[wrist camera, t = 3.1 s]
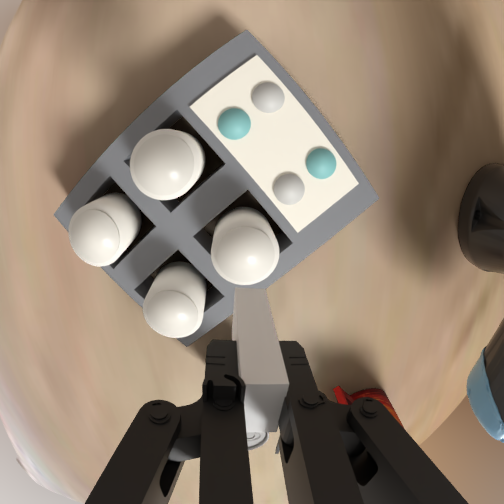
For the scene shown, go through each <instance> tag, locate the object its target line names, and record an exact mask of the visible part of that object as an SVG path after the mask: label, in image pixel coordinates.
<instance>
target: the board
mask: <svg viewBox="0 0 504 504" xmlns="http://www.w3.org/2000/svg"><path fill="white" fill-rule="evenodd" d="M182 116H183V117H184V118H185V119H186V120H187V121H188V122H189V123H190V124H191V126H192V127H193V128H194V129H195V130H196V131H197V132H198V133H199V134H200V136H201V137H202V138H203V139H204V140H205V141H206V142H207V143H208V144H209V146H210V147H211V148H212V149H213V150H214V151H215V152H216V153H217V155H218V156H219V157H220V158H221V159H222V160H223V161H224V164H222V165H221V166H220V167H219V168H218V169H217V170H215V171H214V172H213V173H212V174H211V175H210V176H208V177H207V178H206V179H205V180H204V181H203V182H202V183H200V184H199V185H198V186H197V187H196V188H195V189H194V190H193V191H191V192H190V193H189V194H188V195H187V196H186V197H185V198H184V199H183V200H181V201H180V202H178V201H177V199H176V198H175V199H171V200H157V199H153V198H151V197H149V196H147V195H145V194H144V193H142V192H141V191H140V190H139V189H138V187H137V186H136V185H135V183H134V181H133V179H132V176H131V172H130V159H131V155H132V152H133V150H134V148H135V146H136V144H137V143H138V142H139V141H140V140H141V139H142V138H143V137H144V136H145V135H147V134H148V133H150V132H152V131H155V130H159V129H169V128H170V127H171V126H172V125H173V124H175V123H176V122H177V121H178V120H179V119H180V118H181V117H182ZM115 182H116V183H117V184H118V185H119V186H120V187H121V189H122V190H123V191H124V192H125V193H126V194H127V195H128V196H129V197H130V199H131V200H132V201H133V202H134V203H135V204H136V205H137V206H138V207H139V208H140V209H141V211H142V212H143V213H144V214H145V215H146V216H147V217H148V218H149V219H150V220H151V221H152V222H153V223H154V225H155V226H154V227H153V228H152V229H151V230H150V231H149V232H148V233H147V234H145V235H144V236H143V237H142V238H141V239H140V240H139V241H138V242H137V243H136V244H135V245H134V246H133V247H132V248H131V249H130V250H129V251H128V252H127V251H126V250H125V251H124V252H123V253H122V254H121V255H120V257H119V258H118V259H117V260H116V261H115V262H113V263H112V264H110V265H107V266H100V267H101V268H102V269H103V270H104V271H105V272H106V273H107V274H108V275H109V276H110V277H111V278H112V279H113V280H114V281H115V282H116V283H117V284H118V285H119V286H120V287H121V288H122V289H123V290H124V291H125V292H126V293H127V294H128V295H129V296H130V297H131V298H132V299H133V300H134V301H135V302H137V303H138V304H139V305H140V306H141V307H142V308H143V303H144V300H145V298H146V296H147V294H148V291H149V289H150V287H151V285H152V283H153V281H154V279H153V278H152V277H151V276H150V274H152V273H153V272H154V271H155V270H156V269H157V268H158V267H159V266H160V265H161V264H163V263H164V262H165V261H166V260H167V259H168V258H169V257H170V256H171V255H173V254H174V253H175V252H176V251H177V250H179V251H180V252H181V253H182V254H183V255H184V256H185V257H186V258H187V259H188V260H189V261H190V262H191V263H192V264H193V265H194V266H195V267H196V268H197V269H198V270H199V271H200V272H201V273H202V274H203V275H204V276H205V277H206V278H207V279H208V280H209V281H210V282H211V283H212V284H213V285H214V286H212V287H211V288H210V289H209V290H207V291H206V298H205V305H204V313H203V320H202V323H201V325H200V327H199V328H198V329H197V330H196V331H195V332H194V333H192V334H191V335H189V336H186V337H182V338H177V339H178V340H179V341H180V342H181V343H182V344H184V345H185V346H186V347H187V346H189V345H190V344H192V343H193V342H194V341H196V340H197V339H199V338H200V337H201V336H203V335H204V334H206V333H207V332H208V331H210V330H211V329H212V328H214V327H215V326H217V325H218V324H219V323H221V322H222V321H223V320H225V319H226V318H227V317H229V316H230V315H232V314H233V310H234V297H235V287H236V288H256V289H266V288H267V287H269V286H270V285H271V284H273V283H274V282H275V281H277V280H278V279H279V278H281V277H282V276H283V275H284V274H286V273H287V272H288V271H290V270H291V269H292V268H293V267H295V266H296V265H297V264H299V263H300V262H301V261H302V260H304V259H305V258H306V257H308V256H309V255H310V254H311V253H313V252H314V251H315V250H316V249H318V248H319V247H320V246H321V245H323V244H324V243H325V242H326V241H328V240H329V239H330V238H331V237H333V236H334V235H335V234H336V233H338V232H339V231H340V230H341V229H343V228H344V227H345V226H346V225H348V224H349V223H350V222H351V221H353V220H354V219H355V218H356V217H357V216H359V215H360V214H361V213H362V212H363V211H365V210H366V209H367V208H368V207H370V206H371V205H372V204H373V203H374V202H376V201H377V200H378V199H379V197H378V195H377V194H376V192H375V190H374V189H373V187H372V186H371V184H370V182H369V181H368V179H367V178H366V176H365V175H364V173H363V172H362V170H361V169H360V167H359V166H358V164H357V163H356V161H355V160H354V158H353V157H352V155H351V154H350V152H349V151H348V150H347V148H346V147H345V145H344V144H343V143H342V141H341V140H340V138H339V137H338V136H337V134H336V133H335V131H334V130H333V129H332V127H331V126H330V125H329V123H328V122H327V121H326V119H325V118H324V117H323V116H322V114H321V113H320V112H319V110H318V109H317V108H316V107H315V105H314V104H313V103H312V102H311V100H310V99H309V98H308V97H307V95H306V94H305V93H304V92H303V91H302V89H301V88H300V87H299V86H298V85H297V83H296V82H295V81H294V80H293V79H292V78H291V76H290V75H289V74H288V73H287V72H286V71H285V70H284V68H283V67H282V66H281V65H280V64H279V63H278V62H277V61H276V60H275V58H274V57H273V56H272V55H271V54H270V53H269V52H268V51H267V50H266V49H265V48H264V47H263V46H262V45H261V44H260V42H259V41H258V40H257V39H256V38H255V37H254V36H253V35H252V34H251V33H250V32H249V31H248V30H245V31H244V32H242V33H241V34H239V35H238V36H236V37H235V38H233V39H232V40H230V41H229V42H228V43H226V44H225V45H223V46H222V47H221V48H219V49H218V50H216V51H215V52H214V53H212V54H211V55H210V56H208V57H207V58H206V59H204V60H203V61H202V62H200V63H199V64H198V65H197V66H195V67H194V68H193V69H192V70H190V71H189V72H188V73H187V74H185V75H184V76H183V77H182V78H181V79H179V80H178V81H177V82H176V83H175V84H173V85H172V86H171V87H170V88H169V89H168V90H167V91H165V92H164V93H163V94H162V95H161V96H160V97H159V98H158V99H156V100H155V101H154V102H153V103H152V104H151V105H150V106H149V107H148V108H147V109H146V110H145V111H144V112H143V113H141V114H140V115H139V116H138V117H137V118H136V119H135V120H134V121H133V122H132V123H131V124H130V125H129V126H128V127H127V128H126V129H125V130H124V131H123V132H122V133H121V134H120V136H119V137H118V138H117V139H116V140H115V141H114V142H113V143H112V144H111V145H110V146H109V147H108V148H107V149H106V151H105V152H104V153H103V154H102V155H101V156H100V157H99V158H98V160H97V161H96V162H95V163H94V164H93V165H92V166H91V168H90V169H89V170H88V171H87V172H86V174H85V175H84V176H83V177H82V178H81V180H80V181H79V182H78V183H77V185H76V186H75V187H74V188H73V190H72V191H71V192H70V193H69V195H68V196H67V197H66V199H65V200H64V201H63V203H62V204H61V205H60V207H59V208H58V209H57V211H56V212H55V214H54V216H55V217H56V218H57V219H58V221H59V222H60V223H61V224H62V225H63V226H64V228H65V229H66V230H67V231H68V232H69V224H70V221H71V218H72V216H73V215H74V213H75V212H76V211H77V210H78V209H79V208H81V207H83V206H84V205H86V204H88V203H90V202H92V201H94V200H96V199H98V198H100V197H102V196H103V195H104V194H105V193H106V192H107V191H108V189H109V188H110V187H111V186H112V185H113V184H114V183H115ZM247 190H249V191H250V193H251V194H252V195H253V196H254V197H255V198H256V200H257V201H258V202H259V203H260V204H261V205H262V207H263V208H264V209H265V210H266V211H267V213H268V214H269V215H270V216H271V217H272V218H273V220H274V221H275V222H276V223H277V224H278V226H279V227H280V228H281V229H282V231H281V232H280V233H279V234H277V235H276V236H275V237H276V239H277V242H278V245H279V260H278V263H277V265H276V267H275V269H274V271H273V272H272V273H271V274H270V275H269V276H268V277H267V278H265V279H264V280H262V281H260V282H258V283H255V284H251V285H238V284H234V283H231V282H229V281H227V280H225V279H224V278H223V277H221V276H220V275H219V274H218V272H217V271H216V269H215V268H214V266H213V263H212V259H211V247H212V242H213V238H212V237H211V236H210V235H209V234H208V233H207V232H206V231H205V230H204V229H203V227H204V226H205V225H207V224H208V223H209V222H210V221H211V220H212V219H214V218H215V217H216V216H217V215H218V214H219V213H221V212H222V211H223V210H224V209H225V208H227V207H228V206H229V205H230V204H231V203H232V202H234V201H235V200H236V199H237V198H238V197H240V196H241V195H242V194H243V193H244V192H246V191H247Z"/></svg>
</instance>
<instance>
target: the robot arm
mask: <svg viewBox="0 0 504 504" xmlns="http://www.w3.org/2000/svg"><path fill="white" fill-rule="evenodd" d="M458 232H459V241H460V246H461V249H462V251H463V254H464V256H465V257H466V259H467V260H468V261H469V262H470V263H472V264H473V265H475V266H476V267H478V268H480V269H481V270H484V271H487V272H497V273H502V274H504V165H501V164H496V163H493V164H489V165H486V166H484V167H483V168H481V169H480V170H479V171H478V172H477V173H476V174H475V176H474V177H473V178H472V180H471V182H470V183H469V185H468V187H467V189H466V192H465V194H464V197H463V200H462V204H461V208H460V214H459V224H458ZM202 392H203V395H202V397H201V398H200V399H199V400H198V401H197V402H195V403H193V404H190V405H187V406H181V407H176V406H175V405H174V404H173V403H170V402H168V401H164V400H154V401H150V402H148V403H146V404H144V405H143V406H142V407H141V408H140V410H139V412H138V413H137V415H136V417H135V418H134V420H133V422H132V423H131V425H130V427H129V428H128V430H127V432H126V434H125V435H124V437H123V439H122V440H121V442H120V444H119V445H118V447H117V449H116V450H115V452H114V454H113V456H112V457H111V459H110V461H109V462H108V464H107V466H106V468H105V469H104V471H103V473H102V474H101V476H100V478H99V480H98V481H97V483H96V485H95V487H94V488H93V490H92V492H91V493H90V495H89V497H88V499H87V500H86V502H85V504H168V502H169V500H170V497H171V495H172V492H173V490H174V487H175V485H176V482H177V480H178V477H179V475H180V472H181V470H182V467H183V464H184V462H185V460H190V459H194V458H199V457H200V487H199V504H253V494H252V485H251V475H250V464H249V454H248V443H247V432H277V429H278V425H279V429H280V437H279V440H278V444H277V447H276V453H275V454H278V453H279V450H280V455H281V461H282V467H283V472H284V478H285V484H286V490H287V495H288V501H289V504H468V503H467V501H466V500H465V499H464V498H463V497H462V496H461V494H460V493H459V492H458V491H457V490H456V489H455V488H454V486H453V485H452V484H451V483H450V482H449V481H448V479H447V478H446V477H445V476H444V475H443V474H442V472H441V471H440V470H439V469H438V468H437V467H436V466H435V464H434V463H433V462H432V461H431V460H430V458H429V457H428V456H427V455H426V454H425V453H424V451H423V450H422V449H421V448H420V447H419V446H418V444H417V443H416V442H415V441H414V440H413V439H412V437H411V436H410V435H409V434H408V433H407V432H406V430H405V429H404V428H403V427H402V426H401V425H400V423H399V422H398V421H397V420H396V419H395V418H394V416H393V415H392V414H391V413H390V412H389V411H388V410H387V408H386V407H385V406H384V405H383V404H382V403H381V402H380V401H378V400H376V399H374V398H370V397H362V398H358V399H356V400H355V401H354V402H353V403H352V405H346V404H340V403H335V402H332V401H329V400H328V399H327V397H326V396H325V394H323V393H322V392H320V391H318V389H317V386H316V383H315V380H314V377H313V374H312V371H311V369H310V366H309V363H308V360H307V358H306V354H305V351H304V348H303V347H302V346H301V345H300V344H299V343H298V342H297V341H278V337H277V333H276V329H275V325H274V321H273V317H272V313H271V309H270V305H269V301H268V297H267V293H266V289H256V288H236V287H235V297H234V310H233V323H232V341H230V340H212V341H211V342H210V344H209V345H208V346H207V353H206V368H205V379H204V382H203V384H202ZM467 395H468V398H469V402H470V405H471V407H472V410H473V412H474V413H475V416H476V417H477V419H478V421H479V422H480V423H481V425H482V426H483V427H484V429H485V430H486V431H487V432H488V433H489V434H490V435H491V436H492V437H494V438H495V439H496V440H500V441H501V442H503V443H504V319H503V320H502V322H501V324H500V325H499V327H498V329H497V331H496V332H495V334H494V336H493V337H492V339H491V340H490V342H489V344H488V345H487V346H486V347H485V348H484V349H483V350H482V352H481V356H480V358H479V359H478V361H477V362H476V364H475V366H474V367H473V369H472V370H471V372H470V374H469V376H468V379H467Z"/></svg>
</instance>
